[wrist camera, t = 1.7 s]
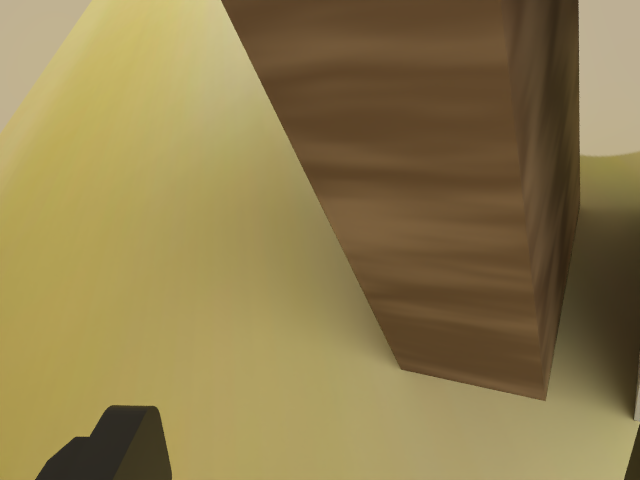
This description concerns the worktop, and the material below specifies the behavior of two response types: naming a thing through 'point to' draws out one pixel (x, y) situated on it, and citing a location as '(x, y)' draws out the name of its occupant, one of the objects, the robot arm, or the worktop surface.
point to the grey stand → (637, 395)
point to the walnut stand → (438, 165)
